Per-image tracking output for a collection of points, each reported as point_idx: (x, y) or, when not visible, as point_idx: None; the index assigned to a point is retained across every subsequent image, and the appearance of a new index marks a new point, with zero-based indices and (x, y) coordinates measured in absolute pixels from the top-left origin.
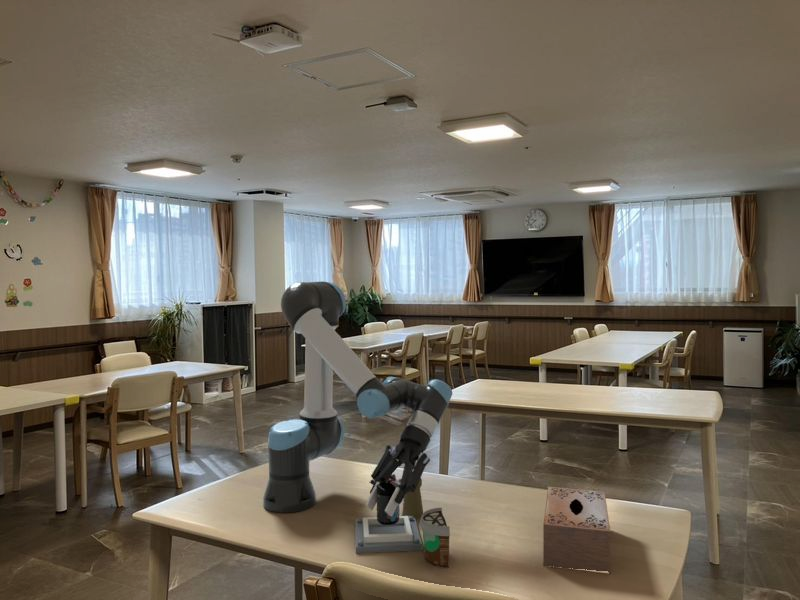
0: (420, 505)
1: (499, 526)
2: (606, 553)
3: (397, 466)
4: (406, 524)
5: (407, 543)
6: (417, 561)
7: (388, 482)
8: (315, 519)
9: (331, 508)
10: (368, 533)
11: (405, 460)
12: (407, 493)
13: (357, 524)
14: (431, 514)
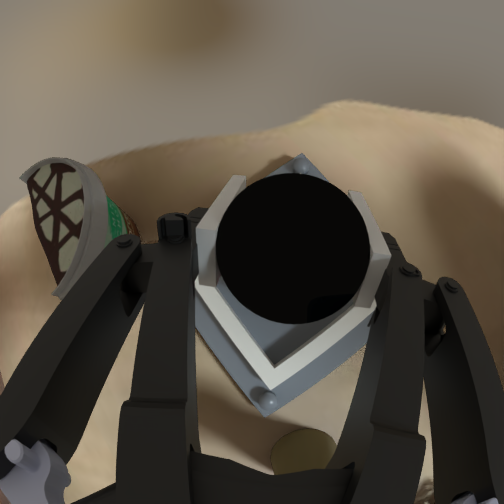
0: (275, 473)
1: (83, 459)
2: None
3: (339, 447)
4: (235, 323)
5: None
6: (145, 206)
7: (331, 306)
8: (493, 269)
9: (500, 345)
10: None
11: (167, 426)
12: None
13: None
14: (75, 246)
